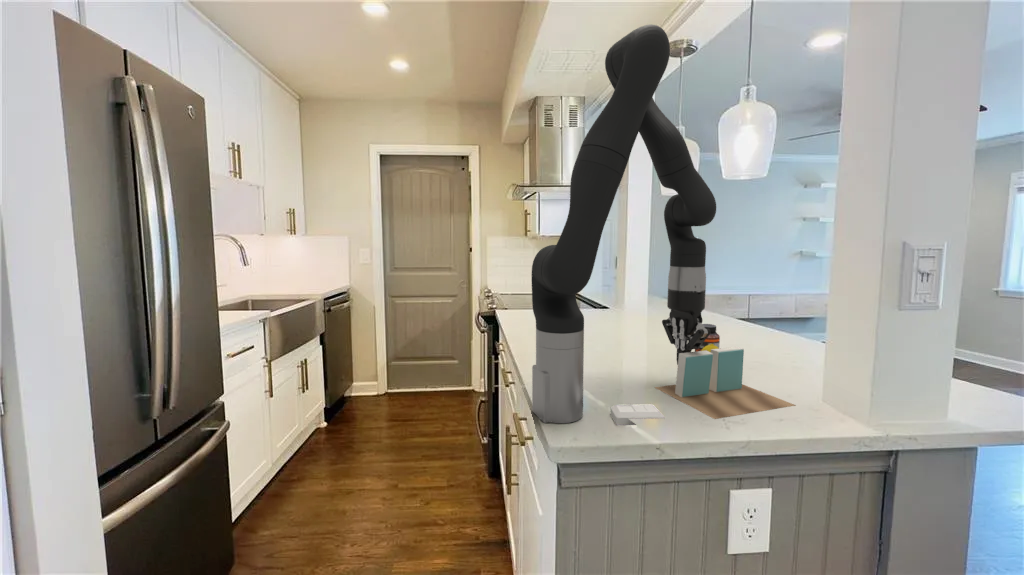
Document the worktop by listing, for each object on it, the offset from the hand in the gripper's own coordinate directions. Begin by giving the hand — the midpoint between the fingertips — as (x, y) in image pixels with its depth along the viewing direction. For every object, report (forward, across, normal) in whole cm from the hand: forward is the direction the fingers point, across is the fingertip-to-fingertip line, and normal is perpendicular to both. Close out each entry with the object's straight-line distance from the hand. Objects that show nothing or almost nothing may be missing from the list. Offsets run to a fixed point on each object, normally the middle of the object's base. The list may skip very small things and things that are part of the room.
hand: (683, 365), depth 96 cm
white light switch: (+7, +8, -17) cm, 20 cm away
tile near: (+5, +3, 0) cm, 6 cm away
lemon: (+7, -9, +16) cm, 20 cm away
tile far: (+5, +3, +9) cm, 11 cm away
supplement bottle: (+7, -15, +20) cm, 26 cm away
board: (+6, +6, +5) cm, 10 cm away
